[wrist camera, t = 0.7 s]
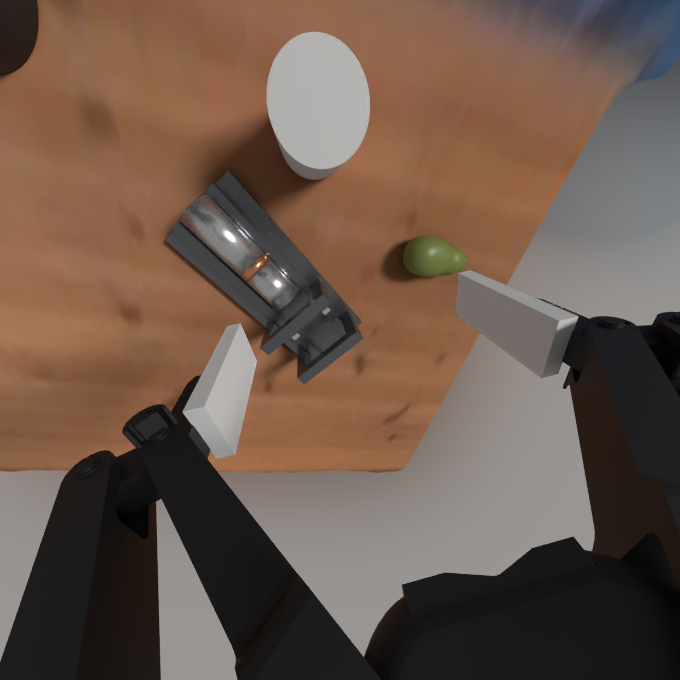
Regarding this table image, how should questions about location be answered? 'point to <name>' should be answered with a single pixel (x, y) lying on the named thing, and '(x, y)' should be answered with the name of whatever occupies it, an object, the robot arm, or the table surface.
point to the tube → (238, 251)
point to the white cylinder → (317, 104)
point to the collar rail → (314, 291)
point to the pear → (432, 257)
